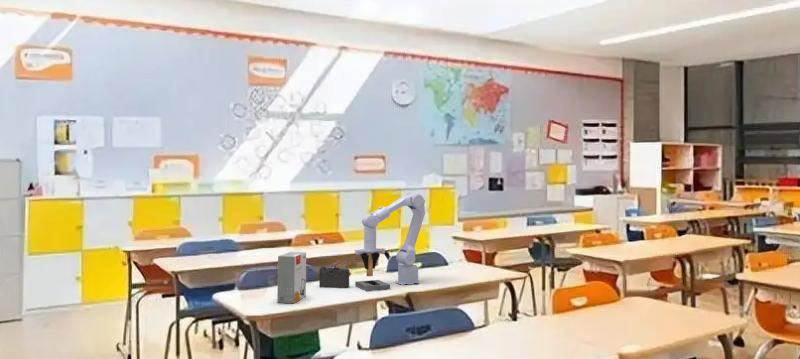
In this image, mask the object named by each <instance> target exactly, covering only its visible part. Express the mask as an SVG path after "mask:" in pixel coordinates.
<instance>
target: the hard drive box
mask: <svg viewBox="0 0 800 359" xmlns="http://www.w3.org/2000/svg"><path fill="white" fill-rule="evenodd" d="M276 297H277V301H276V302H277V303H283V304H295V303H297V302H299V301H301V300H302V299H304V298H306V297H307V252H304V251H289V252H287V253H284V254H280V255H278V256H277V295H276Z"/></svg>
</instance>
